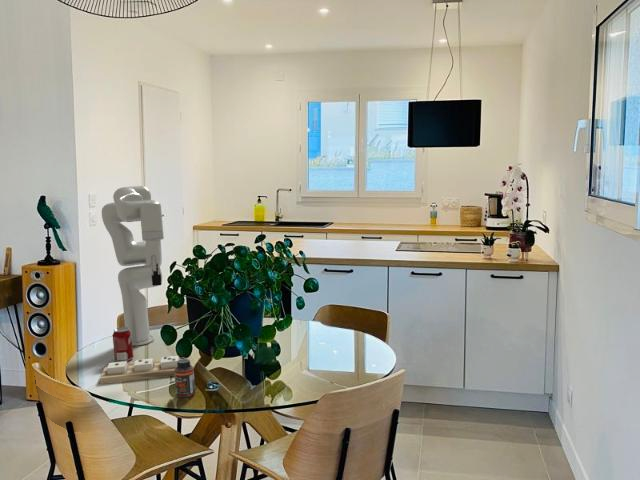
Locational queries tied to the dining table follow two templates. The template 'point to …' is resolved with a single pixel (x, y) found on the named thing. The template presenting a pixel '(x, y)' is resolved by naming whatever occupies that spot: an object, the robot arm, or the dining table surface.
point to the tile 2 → (143, 365)
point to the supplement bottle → (184, 379)
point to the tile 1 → (117, 367)
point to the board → (137, 373)
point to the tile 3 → (169, 362)
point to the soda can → (122, 344)
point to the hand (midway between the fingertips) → (157, 284)
